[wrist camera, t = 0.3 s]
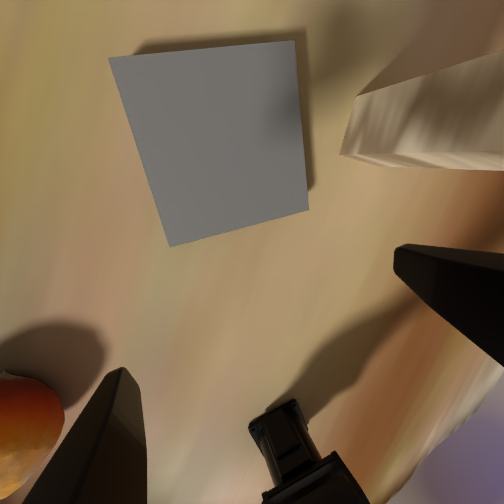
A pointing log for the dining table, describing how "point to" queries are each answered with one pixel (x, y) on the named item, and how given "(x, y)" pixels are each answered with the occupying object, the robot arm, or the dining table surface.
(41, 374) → the dining table surface
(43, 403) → the fruit
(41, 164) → the dining table surface
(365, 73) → the dining table surface
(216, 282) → the dining table surface
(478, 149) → the maple post
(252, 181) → the plinth
